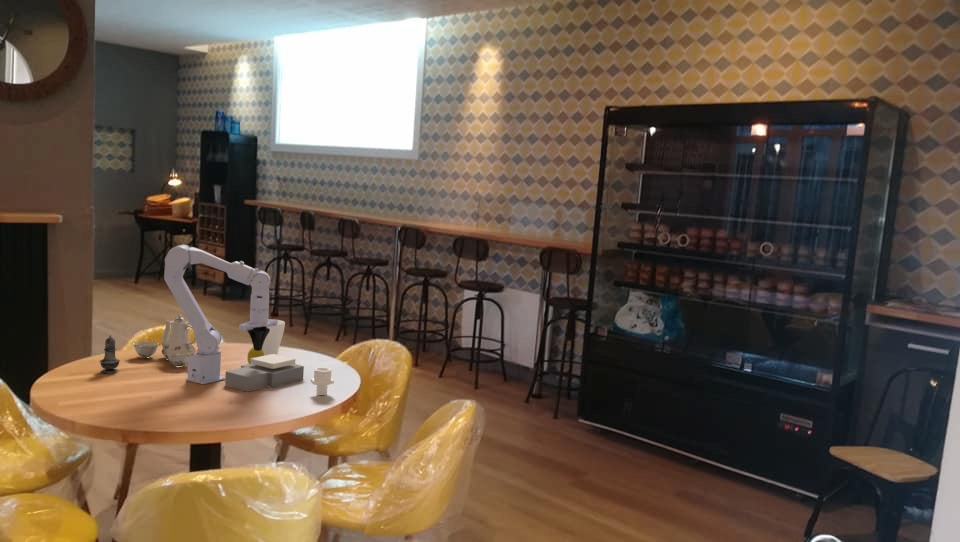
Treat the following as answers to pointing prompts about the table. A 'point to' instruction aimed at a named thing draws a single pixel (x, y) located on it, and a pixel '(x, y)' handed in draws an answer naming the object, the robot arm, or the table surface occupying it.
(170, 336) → the chinaware
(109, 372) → the salt shaker
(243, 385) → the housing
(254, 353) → the lemon
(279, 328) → the cup
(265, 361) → the cream square tile
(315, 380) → the pipe fitting
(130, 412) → the table surface
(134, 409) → the table surface
